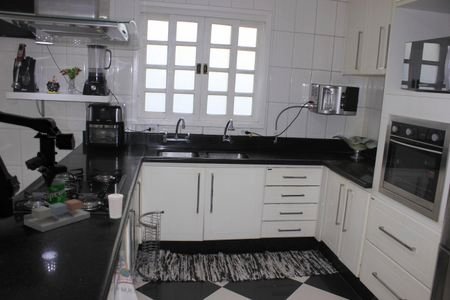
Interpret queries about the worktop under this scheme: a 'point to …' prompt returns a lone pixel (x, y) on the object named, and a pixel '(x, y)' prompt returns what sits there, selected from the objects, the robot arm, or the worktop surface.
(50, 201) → the soda can
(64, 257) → the worktop surface
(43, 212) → the grey block
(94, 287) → the worktop surface
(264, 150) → the worktop surface
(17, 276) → the worktop surface
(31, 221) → the panel
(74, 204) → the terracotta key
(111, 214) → the beverage cup
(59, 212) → the light blue block
